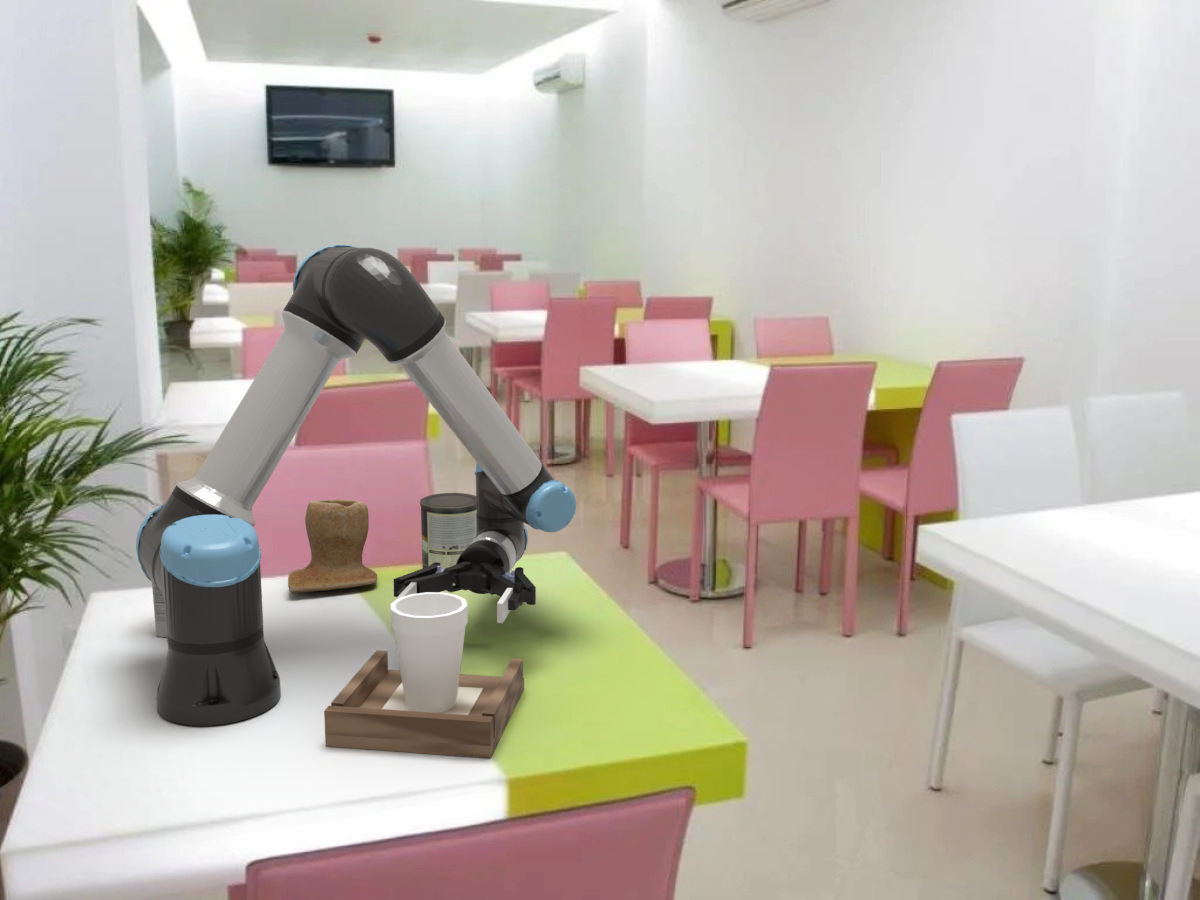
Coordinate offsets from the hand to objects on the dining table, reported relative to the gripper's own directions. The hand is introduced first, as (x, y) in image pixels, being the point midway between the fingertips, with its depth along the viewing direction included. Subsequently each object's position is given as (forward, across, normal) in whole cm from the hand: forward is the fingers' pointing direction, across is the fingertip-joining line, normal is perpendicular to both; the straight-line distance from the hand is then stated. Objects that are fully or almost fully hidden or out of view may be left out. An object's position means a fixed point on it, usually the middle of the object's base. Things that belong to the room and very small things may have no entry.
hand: (449, 610), depth 150 cm
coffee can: (-44, +12, -11) cm, 47 cm away
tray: (+10, 0, -11) cm, 14 cm away
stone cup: (-37, +31, -11) cm, 49 cm away
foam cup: (+10, 0, -9) cm, 13 cm away
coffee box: (-14, +44, -11) cm, 48 cm away
